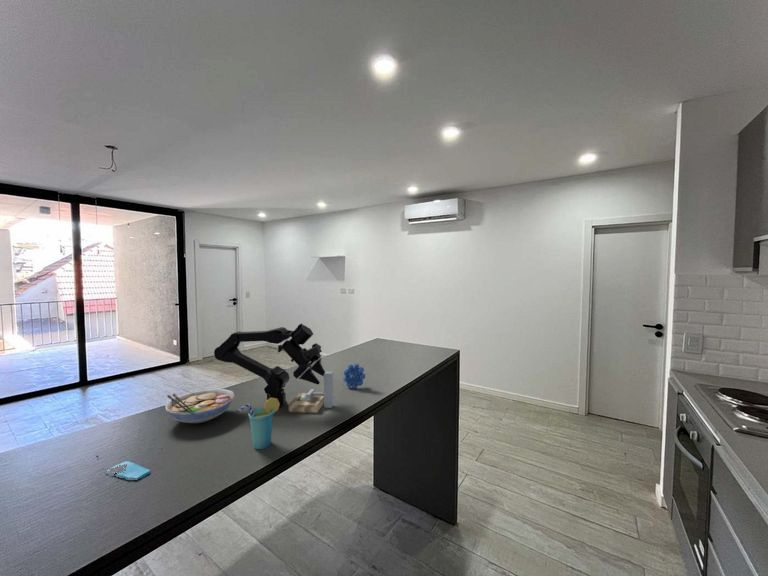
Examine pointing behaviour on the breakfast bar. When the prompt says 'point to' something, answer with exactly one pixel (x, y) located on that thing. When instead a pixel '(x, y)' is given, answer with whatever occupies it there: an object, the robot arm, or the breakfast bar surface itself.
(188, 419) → the ramen bowl
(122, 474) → the sponge
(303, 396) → the ball
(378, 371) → the breakfast bar surface
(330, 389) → the pull handle
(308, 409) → the board
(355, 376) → the grapes
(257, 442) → the cup
